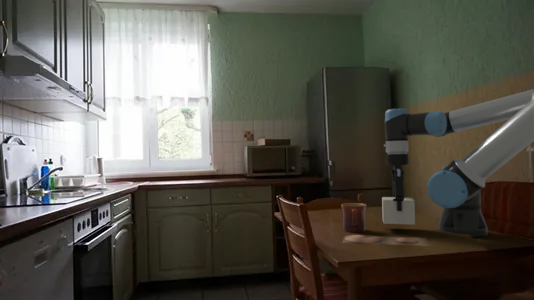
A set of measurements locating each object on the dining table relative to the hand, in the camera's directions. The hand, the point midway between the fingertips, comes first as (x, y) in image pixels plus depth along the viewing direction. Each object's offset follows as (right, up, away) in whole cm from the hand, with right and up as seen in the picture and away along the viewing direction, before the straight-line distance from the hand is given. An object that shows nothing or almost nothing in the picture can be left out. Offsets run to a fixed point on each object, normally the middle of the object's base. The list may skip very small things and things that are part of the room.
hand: (398, 218), depth 129 cm
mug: (-15, -6, 0) cm, 16 cm away
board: (-9, -5, -15) cm, 18 cm away
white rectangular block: (0, -1, 0) cm, 1 cm away
